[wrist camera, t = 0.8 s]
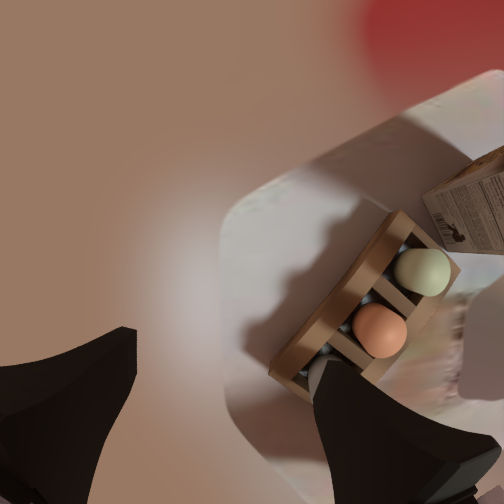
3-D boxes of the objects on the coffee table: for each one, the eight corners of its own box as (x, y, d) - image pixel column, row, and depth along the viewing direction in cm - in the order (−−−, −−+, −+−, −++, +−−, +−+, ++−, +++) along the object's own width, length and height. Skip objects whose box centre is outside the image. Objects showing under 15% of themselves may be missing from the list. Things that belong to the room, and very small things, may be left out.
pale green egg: (434, 265, 21) (457, 268, 17) (412, 297, 21) (433, 305, 17) (408, 240, 21) (429, 238, 17) (385, 272, 22) (403, 277, 18)
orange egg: (397, 317, 22) (415, 330, 18) (371, 348, 22) (385, 366, 18) (369, 294, 22) (384, 303, 18) (343, 326, 22) (353, 341, 18)
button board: (389, 213, 23) (400, 209, 21) (446, 267, 23) (461, 270, 20) (270, 361, 25) (268, 374, 22) (333, 406, 24) (336, 421, 22)
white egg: (354, 368, 22) (364, 388, 18) (327, 395, 22) (333, 419, 18) (325, 346, 22) (332, 365, 18) (299, 375, 23) (300, 397, 19)
